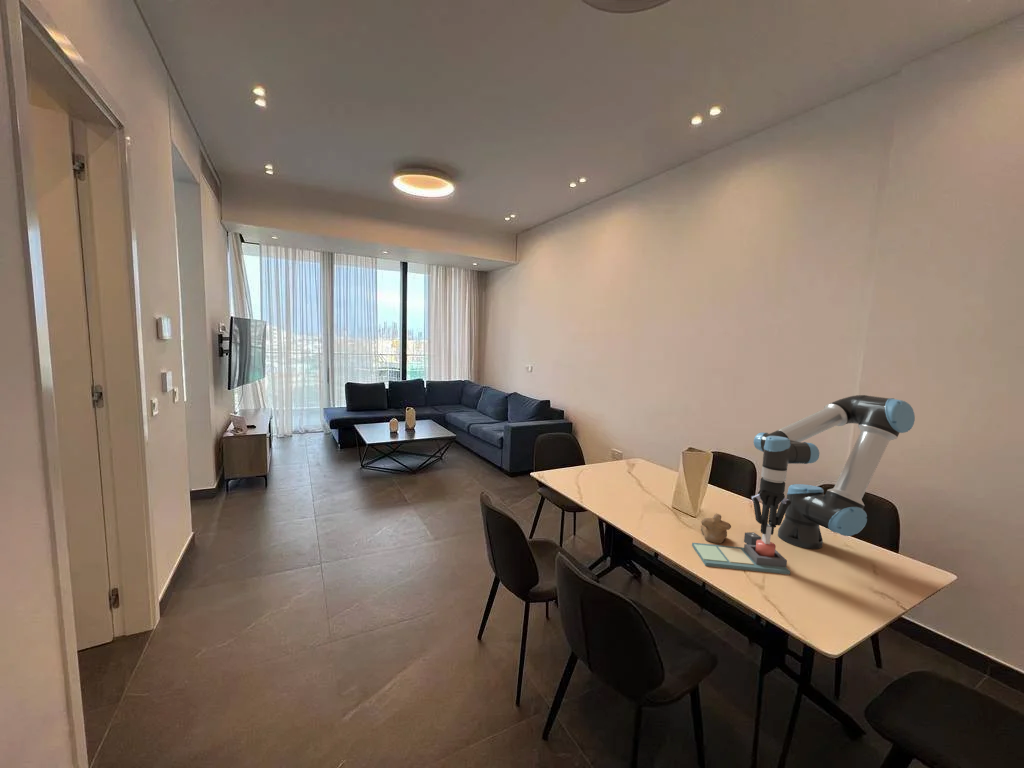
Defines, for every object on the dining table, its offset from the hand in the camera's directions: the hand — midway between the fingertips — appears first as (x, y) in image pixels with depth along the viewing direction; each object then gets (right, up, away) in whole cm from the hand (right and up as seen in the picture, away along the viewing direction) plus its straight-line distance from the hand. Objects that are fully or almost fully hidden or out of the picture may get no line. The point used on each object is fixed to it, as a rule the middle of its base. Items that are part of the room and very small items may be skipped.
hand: (765, 542), depth 149 cm
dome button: (0, -4, 0) cm, 4 cm away
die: (+3, -6, +14) cm, 16 cm away
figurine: (-10, -6, +17) cm, 21 cm away
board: (-9, -7, +2) cm, 12 cm away
